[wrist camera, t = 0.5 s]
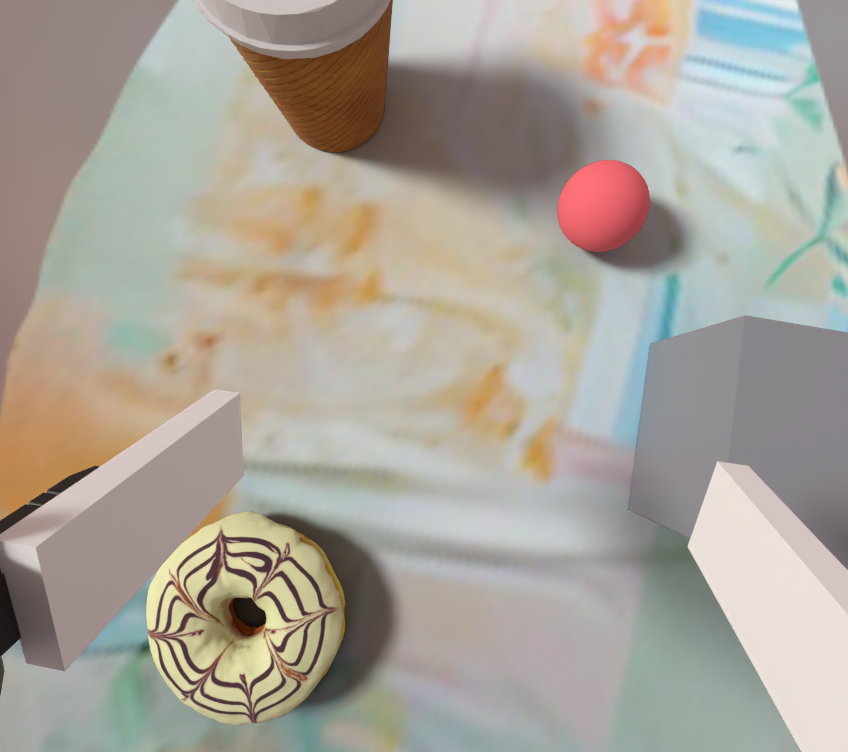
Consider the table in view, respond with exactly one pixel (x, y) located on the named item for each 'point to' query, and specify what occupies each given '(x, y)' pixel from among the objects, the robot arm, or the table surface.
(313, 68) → the disposable coffee cup
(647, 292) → the table surface
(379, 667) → the table surface
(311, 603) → the decorated donut
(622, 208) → the ball
